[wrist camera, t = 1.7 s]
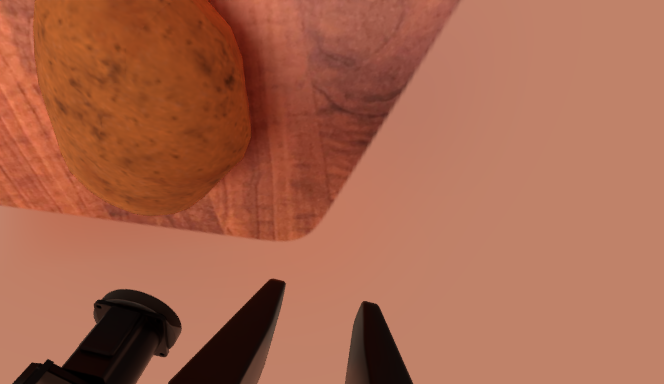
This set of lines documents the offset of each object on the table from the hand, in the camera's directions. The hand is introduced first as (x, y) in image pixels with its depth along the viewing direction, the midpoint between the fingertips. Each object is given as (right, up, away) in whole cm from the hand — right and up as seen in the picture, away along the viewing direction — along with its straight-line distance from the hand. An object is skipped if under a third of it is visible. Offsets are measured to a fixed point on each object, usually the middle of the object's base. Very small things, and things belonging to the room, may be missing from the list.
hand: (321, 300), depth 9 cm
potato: (-8, +9, +10) cm, 15 cm away
